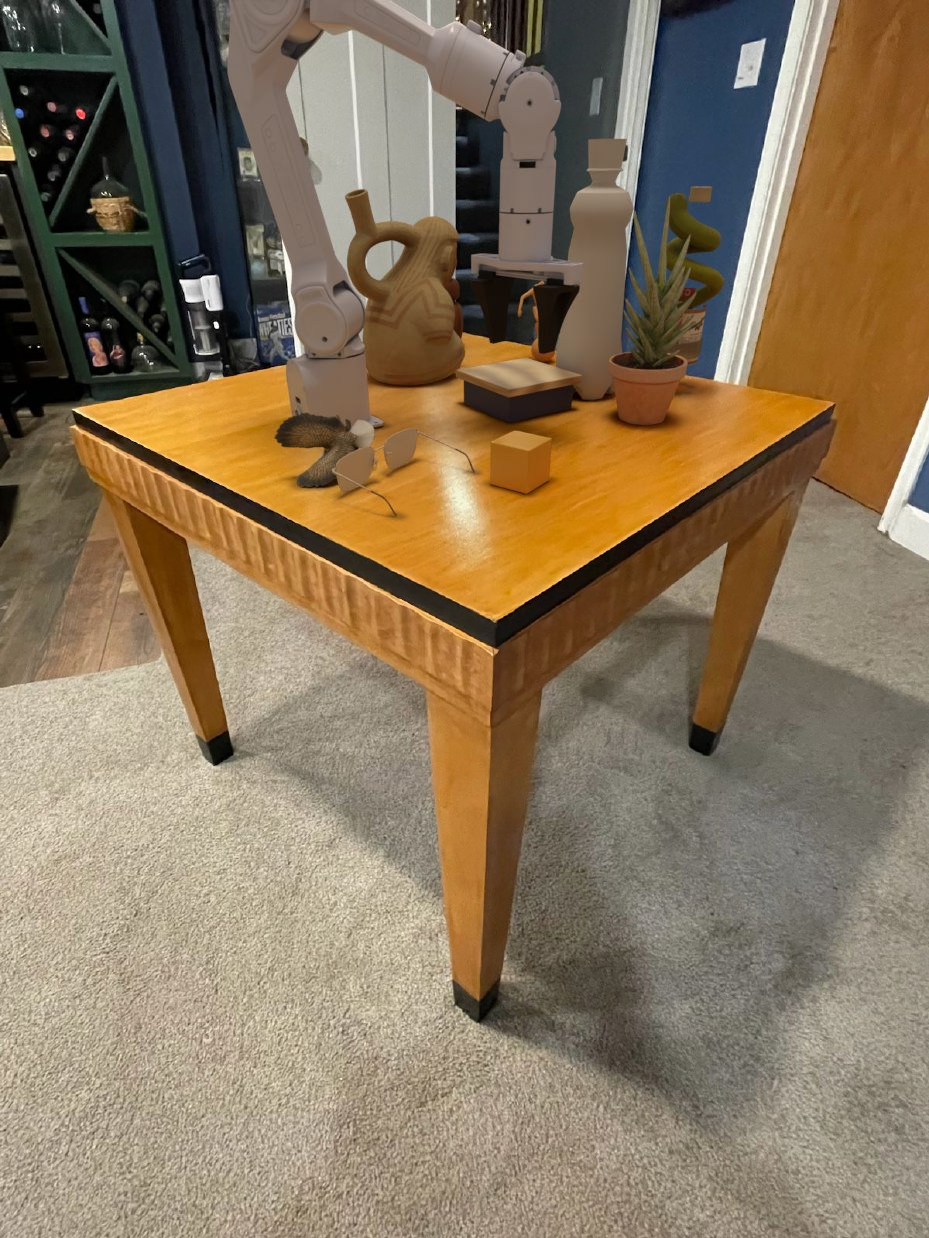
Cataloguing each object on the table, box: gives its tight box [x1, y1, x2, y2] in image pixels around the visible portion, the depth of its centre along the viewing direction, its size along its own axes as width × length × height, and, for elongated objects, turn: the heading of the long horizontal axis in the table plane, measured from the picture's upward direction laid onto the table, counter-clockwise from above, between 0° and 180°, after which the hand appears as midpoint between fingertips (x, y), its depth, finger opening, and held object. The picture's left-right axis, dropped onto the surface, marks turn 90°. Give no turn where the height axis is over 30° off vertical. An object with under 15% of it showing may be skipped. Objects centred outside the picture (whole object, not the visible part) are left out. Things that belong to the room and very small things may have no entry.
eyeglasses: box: [332, 427, 476, 517], centre depth 70 cm, size 14×8×4 cm, turn 145°
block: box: [489, 430, 553, 495], centre depth 70 cm, size 4×4×4 cm
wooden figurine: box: [444, 277, 464, 339], centre depth 120 cm, size 7×6×15 cm
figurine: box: [517, 280, 557, 363], centre depth 112 cm, size 8×6×12 cm
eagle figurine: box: [273, 413, 376, 488], centre depth 73 cm, size 8×7×9 cm
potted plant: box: [609, 195, 696, 426], centre depth 82 cm, size 10×10×25 cm
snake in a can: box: [665, 186, 725, 366], centre depth 94 cm, size 12×10×25 cm
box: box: [455, 357, 582, 424], centre depth 92 cm, size 12×12×4 cm
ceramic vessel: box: [344, 188, 466, 386], centre depth 101 cm, size 17×20×25 cm
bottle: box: [555, 138, 635, 401], centre depth 91 cm, size 9×9×30 cm
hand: (521, 347), depth 80 cm, fingers open, 7 cm apart
